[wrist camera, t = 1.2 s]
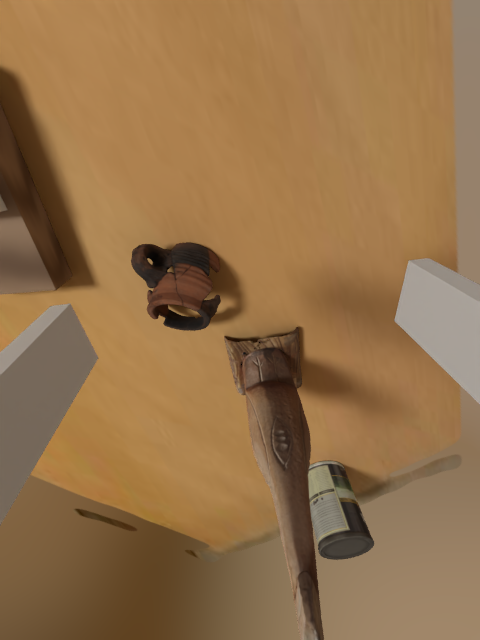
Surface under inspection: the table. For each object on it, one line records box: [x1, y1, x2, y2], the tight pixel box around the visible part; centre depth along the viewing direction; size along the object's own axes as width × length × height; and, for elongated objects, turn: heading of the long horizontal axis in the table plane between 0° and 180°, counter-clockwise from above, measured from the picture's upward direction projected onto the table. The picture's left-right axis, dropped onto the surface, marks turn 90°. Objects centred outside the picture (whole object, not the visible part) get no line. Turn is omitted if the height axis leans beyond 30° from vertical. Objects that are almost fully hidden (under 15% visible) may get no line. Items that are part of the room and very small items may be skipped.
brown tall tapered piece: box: [224, 327, 324, 640], centre depth 29 cm, size 11×12×32 cm
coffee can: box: [308, 461, 374, 560], centre depth 56 cm, size 10×10×14 cm
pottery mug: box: [131, 243, 221, 331], centre depth 32 cm, size 12×10×8 cm
